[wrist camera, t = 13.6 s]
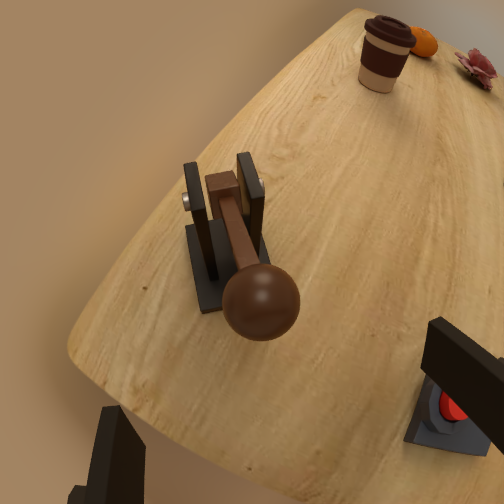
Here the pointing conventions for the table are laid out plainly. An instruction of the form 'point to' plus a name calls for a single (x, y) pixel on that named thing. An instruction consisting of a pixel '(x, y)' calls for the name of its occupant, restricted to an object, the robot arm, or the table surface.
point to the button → (450, 408)
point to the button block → (443, 426)
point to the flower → (478, 67)
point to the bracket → (221, 232)
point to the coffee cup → (384, 52)
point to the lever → (250, 272)
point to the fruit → (424, 43)
